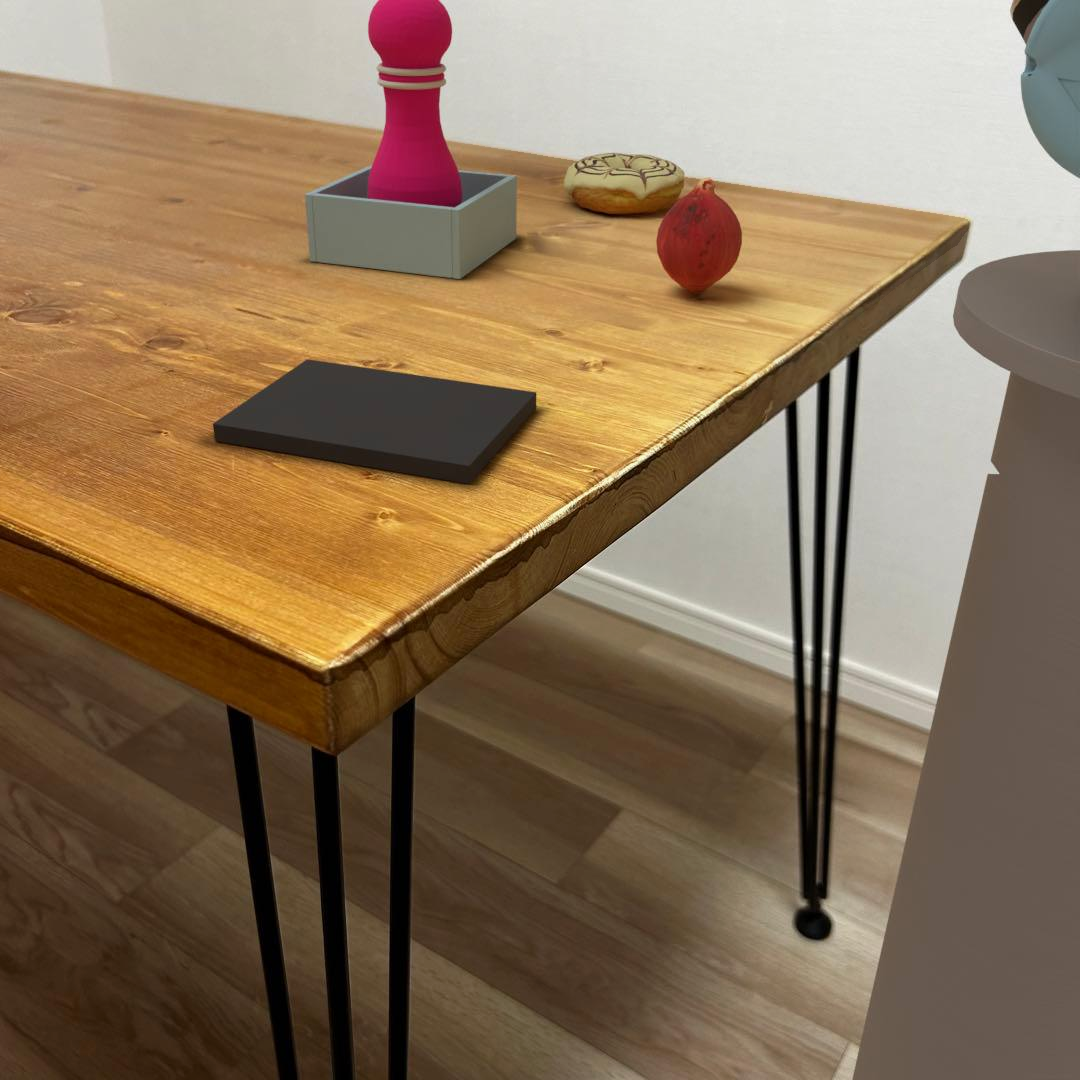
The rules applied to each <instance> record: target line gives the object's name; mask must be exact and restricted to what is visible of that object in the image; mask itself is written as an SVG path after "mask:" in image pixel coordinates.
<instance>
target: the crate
mask: <svg viewBox="0 0 1080 1080" xmlns="http://www.w3.org/2000/svg"><path fill="white" fill-rule="evenodd" d="M371 167H372V164H370V165H367V166H365V167H363V168H361V169H359V170H357V171H354V172H351V173H350V174H347V175H346V176H343V177H341V178H338V179H336V180H333V181H332V182H329V183H327V184H325V185H322V186H320V187H318V188H316V189H313V190H311V191H309V192H307V193H305V194H304V201H305V214H306V227H307V228H306V229H307V238H308V242H307V243H308V254H309V261H310V262H312V263H313V262H314V263H322V264H331V265H338V266H346V267H355V268H364V269H373V270H381V271H388V272H397V273H405V274H414V275H423V276H431V277H438V278H445V279H446V278H447V279H454V280H455V279H456V280H462V279H463V278H464V277H466V276H467V275H468V274H469V273H471V272H473V271H474V270H475V269H477V268H478V267H479V266H481V265H482V264H483V263H484V262H486V261H487V260H489V259H490V258H491V257H493V256H494V255H495V254H497V253H498V252H500V251H502V249H504V248H505V247H507V246H508V245H510V244H511V243H512V242H513V241H515V240H516V239H517V213H518V212H517V211H518V210H517V209H518V207H517V206H518V204H517V203H518V175H516V174H504V173H495V172H482V171H473V170H461V169H458V172H459V175H460V179H461V184H462V202H461V204H460V205H458V206H456V207H455V208H454V207H445V206H435V205H426V204H416V203H406V202H396V201H387V200H377V199H368V196H367V195H368V179H369V175H370V170H371Z"/></svg>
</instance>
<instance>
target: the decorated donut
mask: <svg viewBox="0 0 1080 1080" xmlns="http://www.w3.org/2000/svg"><path fill="white" fill-rule="evenodd" d="M684 186H685V171H684V169H682V168H681V167H680V166H679V165H677V164H675V163H674V162H672V161H670V160H667V159H663V158H661V157H657V156H655V155H650V154H631V153H623V152H622V153H621V152H605V153H599V154H598V153H597V154H593V155H589V156H585V157H583V158H581V159H579V160H577V161H575V162H573V163H572V164H570V165H569V166H568V168H567V170H566V173H565V177H564V179H563V189H564V190H565V192H566V194H567V195H568V196H571V197H572V199H573V200H574V202H576V203H577V204H578V206H579V207H580V208H581V209H588V210H591V211H593V212H597V213H605V214H608V215H629V214H630V215H631V214H643V213H646V214H652V213H655V212H656V211H664V210H665V209H666V208H668V207H670V206H673V205H674V204H675V203H676V202H677V201H678V200H679V198H680V195H681V193H682V190H683V189H684V188H685V187H684Z"/></svg>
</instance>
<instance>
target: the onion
mask: <svg viewBox="0 0 1080 1080" xmlns="http://www.w3.org/2000/svg"><path fill="white" fill-rule="evenodd" d="M716 186H717V185H716V182H715V181H714V180H713V179H712V178H711V177H704V178H701V179H700V180H698V182H697V183H696V185H695V186H694V187H693V189H692V190H691V191H690V192H689V193H687V194H686V195H684V196H683V197H681V198H680V199H677V202H675V203H674V204H672V206H671V208H670V209H668V211H667V212H666V214H665V215H664V217H663V218H662V220H661V222H660V224H659V227H658V230H657V236H656V238H655V239H656V240H655V241H656V252H657V256H658V258H659V261H660V263H661V265H662V268H663V270H664V271H665V272H666V274H668V276H669V278H671V279H672V280H673V281H674V282H675V283H676V284H678V285H679V286H680V287H682V288H683V289H684V290H686V292H688V293H689V294H692V295H700V294H702V293H704V292H705V291H706V290H707V289H708V288H709V287H711V286H713V285H714V284H716V283H717V282H719V281H720V280H722V279H723V278H724V277H725V276H726V275H728V274H729V273H730V272H731V270H732V269H733V268H734V266H735V264H736V263H737V261H738V260H739V257H740V252H741V248H742V245H743V231H742V227H741V223H740V221H739V218H738V216H737V214H736V213H735V212H734V210H733V208H731V206H730V205H729V204H728V203H727V202H726V201H725V199H723V198H721V197H720V196H719V195H718V194H717V193H715V188H716Z"/></svg>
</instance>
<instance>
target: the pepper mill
mask: <svg viewBox="0 0 1080 1080" xmlns="http://www.w3.org/2000/svg"><path fill="white" fill-rule="evenodd" d="M367 32H368V33H367V35H368V40H369V42H370V45H371V47H372V48H373V50H374V51H375V52H376V53H377V55H378V56H379V58H380V60H381V62H380V63H378V64H377V65H376V71H377V72H378V73H377V75H378V77H377V80H376V82H377V85H379V86H380V87H382V88H383V89H382V90H383V95H384V101H385V121H384V122H385V123H384V128H383V133H382V136H381V140H380V143H379V146H378V149H377V151H376V154H375V157H374V159H373V161H372V164H371V165H372V167H371V170H370V175H369V179H368V195H367V196H368V199H377V200H387V201H396V202H406V203H416V204H426V205H435V206H445V207H454V208H455V207H456V206H458V205H460V204H461V202H462V184H461V179H460V175H459V172H458V170H459V168H458V166H457V163H456V161H455V159H454V158H453V155H452V153H451V151H450V149H449V146H448V144H447V141H446V138H445V135H444V132H443V127H442V124H441V113H440V112H441V109H440V101H441V100H440V99H441V88H443V87H444V86H445V85H446V84H447V79H446V78H445V76H446V75H445V72H446V70H447V67H446V65H445V64H443V63H441V61H442V59H443V56H444V55H445V54H446V52H447V51H448V49H449V48H450V46H451V43H452V39H453V38H452V37H453V25H452V20H451V17H450V14H449V11H448V10H447V8H446V7H445V4H443V3H442V2H441V0H377V1H376V3H375V4H374V6H372V9H371V11H370V13H369V17H368V23H367Z"/></svg>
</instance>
